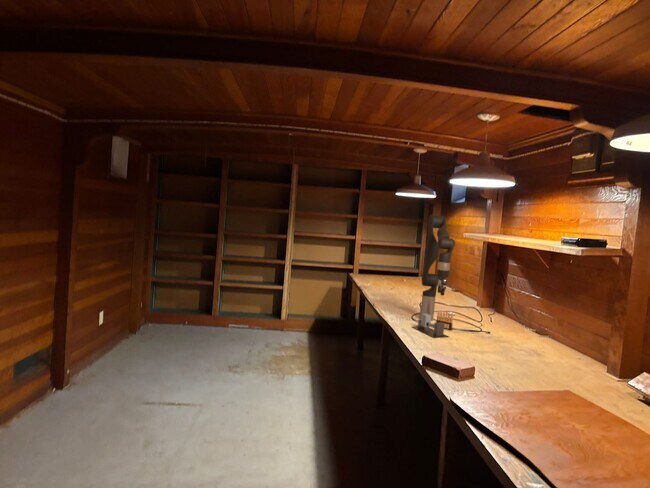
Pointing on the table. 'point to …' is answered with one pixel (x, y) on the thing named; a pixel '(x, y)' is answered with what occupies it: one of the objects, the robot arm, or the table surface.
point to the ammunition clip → (445, 320)
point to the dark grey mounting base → (430, 332)
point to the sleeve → (425, 320)
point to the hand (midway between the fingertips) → (440, 294)
